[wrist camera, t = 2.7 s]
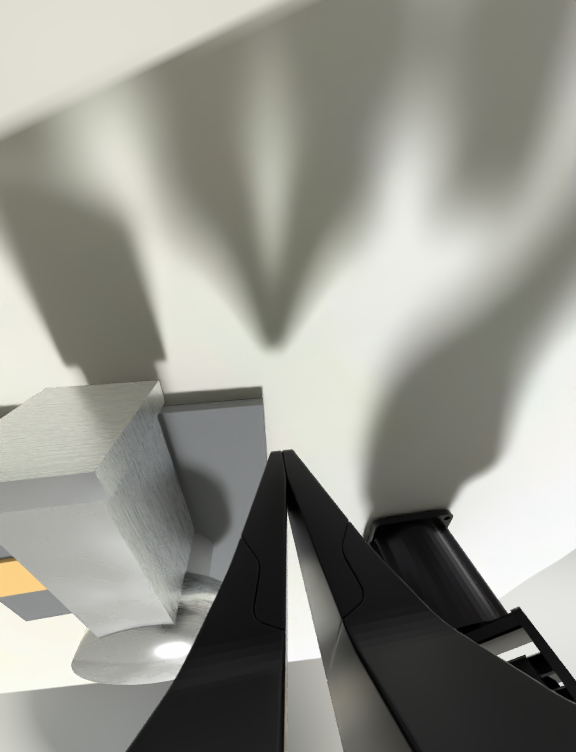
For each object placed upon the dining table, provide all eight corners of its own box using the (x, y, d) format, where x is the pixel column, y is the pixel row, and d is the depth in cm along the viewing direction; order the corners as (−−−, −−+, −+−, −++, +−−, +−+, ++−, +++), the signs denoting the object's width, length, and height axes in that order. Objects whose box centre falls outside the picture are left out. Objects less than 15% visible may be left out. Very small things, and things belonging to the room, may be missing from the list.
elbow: (240, 577, 17) (237, 671, 13) (137, 594, 16) (103, 700, 13) (198, 377, 9) (162, 464, 6) (0, 391, 9) (-201, 504, 5)
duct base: (262, 398, 12) (266, 440, 9) (274, 569, 20) (278, 617, 17) (-182, 434, 10) (-344, 503, 7) (32, 610, 18) (-6, 673, 15)
